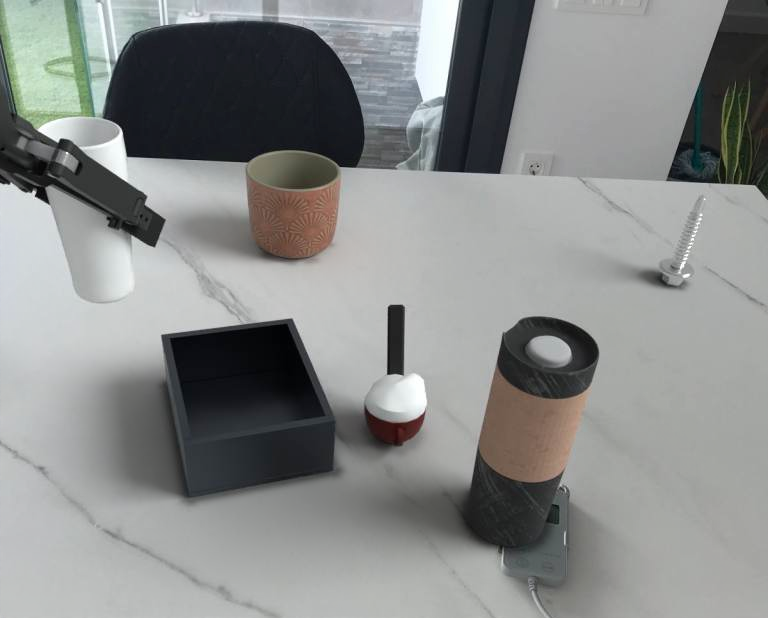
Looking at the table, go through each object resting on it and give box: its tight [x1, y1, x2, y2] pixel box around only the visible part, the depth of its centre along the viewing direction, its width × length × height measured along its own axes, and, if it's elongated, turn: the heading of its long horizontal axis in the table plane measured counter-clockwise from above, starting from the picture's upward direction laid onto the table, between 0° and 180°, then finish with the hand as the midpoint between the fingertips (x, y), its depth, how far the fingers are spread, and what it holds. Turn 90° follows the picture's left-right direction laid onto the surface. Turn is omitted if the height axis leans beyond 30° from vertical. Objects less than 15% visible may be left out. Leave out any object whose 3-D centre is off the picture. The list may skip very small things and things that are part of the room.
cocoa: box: [363, 304, 428, 447], centre depth 76 cm, size 10×6×12 cm, turn 163°
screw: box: [657, 194, 707, 287], centre depth 104 cm, size 13×5×5 cm
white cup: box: [36, 116, 136, 305], centre depth 67 cm, size 7×7×15 cm
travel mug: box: [466, 315, 600, 548], centre depth 65 cm, size 8×8×20 cm
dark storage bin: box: [160, 317, 337, 498], centre depth 76 cm, size 17×14×7 cm
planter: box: [244, 149, 342, 259], centre depth 104 cm, size 12×12×11 cm
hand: (122, 221), depth 70 cm, fingers closed on white cup, 7 cm apart
